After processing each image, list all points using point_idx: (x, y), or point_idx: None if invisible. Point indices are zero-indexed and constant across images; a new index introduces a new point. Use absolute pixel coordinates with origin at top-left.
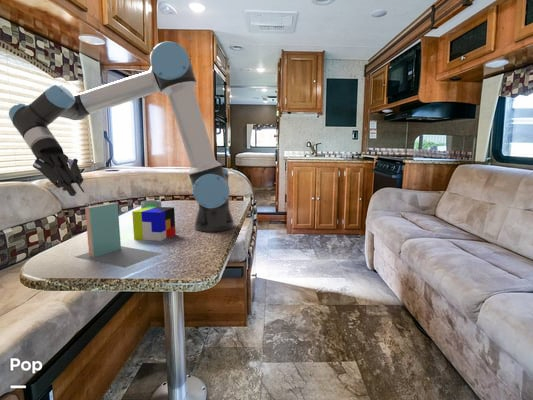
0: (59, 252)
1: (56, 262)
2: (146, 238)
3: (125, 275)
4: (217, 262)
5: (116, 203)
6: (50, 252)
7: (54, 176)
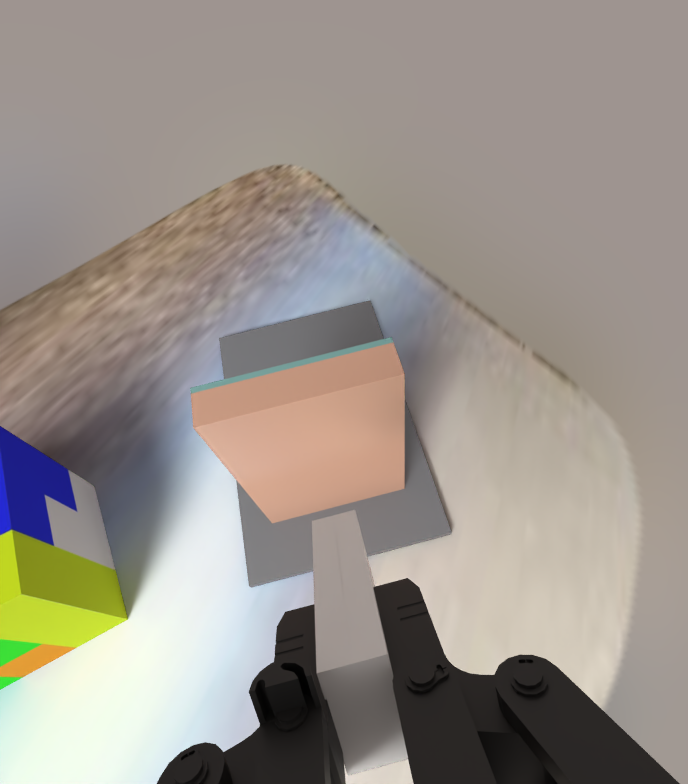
0: None
1: (524, 538)
2: (103, 549)
3: (392, 268)
4: (190, 210)
5: (200, 386)
6: None
7: (659, 765)
